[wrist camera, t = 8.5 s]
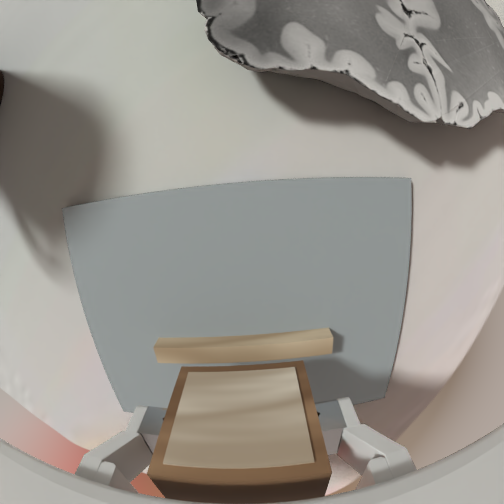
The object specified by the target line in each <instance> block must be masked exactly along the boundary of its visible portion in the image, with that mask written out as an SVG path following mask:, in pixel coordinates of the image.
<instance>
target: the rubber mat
mask: <svg viewBox="0 0 504 504" xmlns="http://www.w3.org/2000/svg"><path fill="white" fill-rule="evenodd" d="M62 211H63V218H64V225H65V231H66V237H67V243H68V248H69V253H70V258H71V263H72V267H73V272H74V276H75V280H76V284H77V288H78V292H79V296H80V299H81V303H82V306H83V310H84V313H85V316H86V319H87V322H88V326H89V329H90V332H91V334H92V337H93V340H94V343H95V346H96V349H97V351H98V354H99V356H100V359H101V362H102V364H103V367H104V369H105V371H106V374H107V376H108V379H109V381H110V383H111V385H112V388H113V390H114V392H115V394H116V396H117V398H118V401H119V403H120V405H121V407H122V409H123V411H124V412H131V413H134V411H135V409H136V407H137V406H138V405H142V406H152V407H161V408H168V405H169V402H170V399H171V396H172V393H173V390H174V387H175V384H176V381H177V378H178V375H179V372H180V369H181V366H237V365H255V364H269V363H281V362H292V361H301V360H303V361H304V365H305V369H306V372H307V376H308V380H309V384H310V387H311V391H312V395H313V399H314V403H316V402H322V401H328V400H334V399H340V398H345V397H349V398H350V399H351V402H352V404H353V405H355V404H360V403H364V402H369V401H373V400H377V399H381V398H384V397H385V394H386V390H387V387H388V383H389V379H390V375H391V371H392V367H393V363H394V358H395V354H396V349H397V344H398V339H399V334H400V329H401V323H402V317H403V311H404V304H405V297H406V289H407V280H408V270H409V258H410V243H411V216H412V193H411V178H390V177H333V178H301V179H281V180H265V181H251V182H238V183H227V184H216V185H207V186H197V187H189V188H180V189H173V190H165V191H158V192H151V193H144V194H137V195H131V196H125V197H119V198H113V199H107V200H102V201H96V202H91V203H86V204H81V205H76V206H71V207H66V208H62ZM328 327H329V329H330V331H331V334H332V336H333V349H332V354H325V355H318V356H310V357H301V358H292V359H281V360H270V361H256V362H238V363H204V364H180V363H158V362H157V359H156V355H155V352H154V348H153V347H154V345H155V343H156V341H157V340H158V338H183V337H220V336H241V335H256V334H270V333H282V332H292V331H302V330H312V329H320V328H328Z"/></svg>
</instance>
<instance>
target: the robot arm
mask: <svg viewBox="0 0 504 504" xmlns="http://www.w3.org/2000/svg"><path fill="white" fill-rule="evenodd" d="M315 407H316V410H317V414H318V418H319V422H320V426H321V430H322V434H323V438H324V442H325V446H326V450H327V454H328V455H331V454H337V455H338V456H340V457H341V458H342V459H343V460H344V461H345V462H347V463H348V464H349V465H350V466H351V467H352V468H354V469H355V470H356V471H357V472H358V473H360V474H361V475H362V478H361V480H360V482H359V484H358V485H357V487H356V490H353V491H349V492H344V493H340V494H335V495H330V496H324V497H318V498H312V499H305V500H297V501H288V502H277V503H260V504H504V424H503V425H501V426H500V427H498V428H496V429H495V430H494V431H492V432H490V433H489V434H487V435H485V436H484V437H482V438H481V439H479V440H477V441H475V442H474V443H472V444H470V445H468V446H467V447H465V448H463V449H461V450H459V451H457V452H455V453H453V454H451V455H449V456H447V457H445V458H444V459H441V460H439V461H437V462H435V463H433V464H430V465H428V466H425V467H423V468H421V469H418V470H416V467H415V465H414V463H413V461H412V459H411V457H410V454H409V452H408V450H407V448H405V447H404V446H402V445H400V444H398V443H396V442H395V441H393V440H391V439H389V438H388V437H386V436H384V435H382V434H381V433H379V432H377V431H376V430H374V429H372V428H371V427H369V426H367V425H366V424H360V421H359V419H358V416H357V414H356V411H355V409H354V407H353V404H352V402H351V399H350V398H349V397H345V398H340V399H334V400H328V401H322V402H316V403H315ZM166 411H167V408H161V407H152V406H142V405H138V406H137V407H136V409H135V411H134V413H133V415H132V418H131V420H130V422H129V424H128V427H127V429H126V431H121V432H120V433H118V434H117V435H115V436H114V437H112V438H110V439H109V440H107V441H106V442H104V443H102V444H101V445H99V446H98V447H96V448H94V449H93V450H91V451H89V452H88V453H86V454H84V456H83V458H82V461H81V463H80V465H79V467H78V469H77V471H76V473H75V475H74V474H72V473H69V472H67V471H64V470H62V469H59V468H57V467H54V466H52V465H50V464H48V463H45V462H43V461H41V460H39V459H37V458H35V457H33V456H31V455H29V454H27V453H25V452H23V451H21V450H20V449H18V448H16V447H14V446H12V445H11V444H9V443H7V442H5V441H4V440H2V439H1V438H0V504H218V503H202V502H191V501H182V500H174V499H167V498H160V497H155V496H149V495H144V494H139V493H138V492H137V490H136V489H135V488H134V487H133V486H132V485H131V484H130V482H131V481H132V480H133V479H134V478H135V477H136V476H138V475H139V474H140V473H141V472H142V471H143V470H144V469H145V468H146V467H147V466H148V465H149V464H150V462H151V459H152V455H153V452H154V449H155V446H156V442H157V439H158V436H159V433H160V430H161V427H162V423H163V420H164V417H165V414H166Z"/></svg>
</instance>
